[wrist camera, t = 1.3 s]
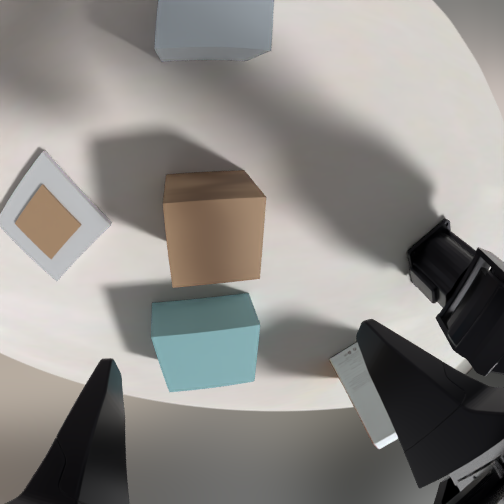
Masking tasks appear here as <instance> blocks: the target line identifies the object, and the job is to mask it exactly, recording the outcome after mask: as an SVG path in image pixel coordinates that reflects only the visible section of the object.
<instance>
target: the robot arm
mask: <svg viewBox="0 0 504 504" xmlns="http://www.w3.org/2000/svg"><path fill="white" fill-rule="evenodd" d="M408 259H409V263H410V273H411V278H412V282H413V283H414V285H415V286H416V287H418V288H419V290H420V291H421V292H422V293H423V294H424V295H425V296H426V297H427V298H428V299H429V300H430V301H431V302H432V303H436V302H438V303H439V304H440V305H441V306H442V307H443V309H442V310H441V312H440V313H439V314H438V315H437V316H436V320H437V321H438V323H439V325H440V327H441V329H442V331H443V332H444V334H445V336H446V338H447V340H448V341H449V343H450V345H451V347H452V349H453V350H454V351H455V352H456V353H458V354H459V355H461V356H462V357H464V358H466V359H467V360H468V361H469V363H470V364H471V365H472V367H473V368H474V370H475V371H476V372H477V373H478V374H481V375H483V376H486V375H487V374H488V373H489V372H492V373H498V374H502V375H504V262H503V261H502V260H500V259H499V258H498V257H497V256H495V255H494V254H493V253H491V252H489V251H486V250H484V249H481V248H479V247H478V248H477V250H476V251H475V250H474V249H473V248H472V247H470V246H469V245H468V244H467V243H465V242H464V241H463V240H461V239H460V238H459V237H458V236H456V235H455V234H454V233H452V232H451V230H450V221H449V220H447V219H444V220H443V221H442V222H441V223H440V224H439V225H438V226H436V227H435V228H434V229H433V230H432V231H431V232H429V233H428V234H427V235H426V236H425V237H424V238H422V239H421V240H420V241H419V242H418V243H416V244H415V245H414V246H413V247H412V248H410V249H409V251H408ZM490 266H491V269H490V270H488V269H489V267H490ZM356 339H357V343H358V345H359V348H360V351H361V354H362V356H363V359H364V362H365V365H366V368H367V370H368V373H369V375H370V377H371V379H372V381H373V383H374V386H375V388H376V390H377V392H378V394H379V396H380V398H381V401H382V403H383V405H384V407H385V409H386V411H387V414H388V416H389V418H390V420H391V423H392V425H393V427H394V429H395V432H396V434H397V436H398V439H399V441H400V443H401V445H402V448H403V450H404V453H405V456H406V458H407V460H408V462H409V465H410V468H411V470H412V473H413V475H414V477H415V480H416V483H417V485H418V487H419V488H422V487H424V486H426V485H428V484H430V483H432V482H435V481H437V480H439V479H440V478H442V477H444V476H446V475H448V474H449V476H448V477H447V478H446V479H444V480H443V481H442V482H440V484H439V488H438V492H437V495H436V498H435V501H434V504H504V387H491V386H488V385H485V384H483V383H481V382H479V381H477V380H475V379H473V378H471V377H469V376H467V375H465V374H463V373H461V372H459V371H458V370H456V369H454V368H452V367H451V366H449V365H447V364H446V363H444V362H442V361H441V360H439V359H437V358H436V357H434V356H433V355H431V354H429V353H428V352H426V351H424V350H423V349H421V348H420V347H418V346H416V345H415V344H413V343H411V342H410V341H408V340H406V339H405V338H403V337H401V336H400V335H398V334H397V333H395V332H393V331H392V330H390V329H388V328H387V327H385V326H383V325H382V324H380V323H378V322H377V321H375V320H373V319H369V320H365V321H363V322H362V323H361V326H360V328H359V330H358V333H357V336H356ZM125 447H126V446H125V412H124V402H123V391H122V378H121V373H120V371H119V369H118V367H117V365H116V363H115V361H114V360H113V359H111V358H109V359H102V360H100V362H99V364H98V365H97V367H96V368H95V370H94V372H93V373H92V375H91V377H90V378H89V380H88V381H87V383H86V385H85V387H84V388H83V390H82V392H81V393H80V395H79V397H78V398H77V400H76V402H75V404H74V406H73V407H72V409H71V411H70V413H69V414H68V416H67V418H66V420H65V421H64V423H63V425H62V427H61V429H60V431H59V432H58V434H57V438H55V440H54V442H53V444H52V446H51V447H50V449H49V451H48V453H47V455H46V457H45V458H44V460H43V461H42V463H41V465H40V466H39V468H38V469H37V471H36V472H35V474H34V475H33V477H32V479H31V480H30V482H29V483H28V485H27V486H26V488H25V489H24V491H23V492H22V493H21V494H20V495H19V496H18V497H16V498H15V499H13V500H11V501H9V502H7V503H5V504H129V493H128V483H127V468H126V448H125Z"/></svg>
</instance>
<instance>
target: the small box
mask: <svg viewBox="0 0 504 504" xmlns="http://www.w3.org/2000/svg"><path fill="white" fill-rule="evenodd" d="M329 360H330V362H331V364H332V366H333V368H334V370H335V372H336V374H337V376H338V377H339V379H340V381H341V383H342V385H343V386H344V388H345V390H346V392H347V394H348V396H349V398H350V400H351V402H352V404H353V406H354V408H355V409H356V411H357V413H358V415H359V417H360V419H361V421H362V423H363V425H364V427H365V429H366V431H367V433H368V435H369V437H370V439H371V441H372V443H373V444H374V445H375V446H376V447H377V448H378V449H380V448H382V447H384V446H386V445H387V444H389V443H391V442H392V441H394V440H396V439H397V438H398V436H397V434H396V432H395V429H394V427H393V425H392V423H391V420H390V418H389V416H388V414H387V411H386V409H385V407H384V405H383V403H382V401H381V398H380V396H379V394H378V392H377V390H376V388H375V386H374V383H373V381H372V379H371V377H370V375H369V373H368V370H367V368H366V365H365V362H364V359H363V356H362V354H361V351H360V348H359V345H358V343H357V342H356V343H355V344H353V345H352V346H350V347H348V348H347V349H345V350H343V351H342V352H340V353H339V354H337V355H335V356H334V357H332V358H330V359H329Z"/></svg>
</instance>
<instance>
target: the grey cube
mask: <svg viewBox="0 0 504 504" xmlns="http://www.w3.org/2000/svg"><path fill="white" fill-rule="evenodd" d="M273 9H274V0H158V9H157V19H156V33H155V51H156V53H157V55H158V56H159V58H160V60H161V62H166V61H183V60H236V61H247V60H250V59H252V58H254V57H257V56H259V55H261V54H264V53H266V52H269V51H271V45H272V27H273Z"/></svg>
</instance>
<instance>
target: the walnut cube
mask: <svg viewBox="0 0 504 504" xmlns="http://www.w3.org/2000/svg"><path fill="white" fill-rule="evenodd" d="M265 206H266V196H265V195H264V194H263V193H262V191H261V190H260V189H259V188H258V186H257V185H256V184H255V183H254V182H253V180H252V179H251V178H250V177H249V175H248V174H247V173H246V172H245V171H244V170H239V171H212V172H194V173H179V174H167V175H166V180H165V189H164V198H163V211H164V221H165V231H166V240H167V249H168V257H169V264H170V272H171V279H172V286H173V288H176V287H186V286H197V285H207V284H216V283H226V282H235V281H244V280H253V279H260V270H261V257H262V245H263V232H264V219H265Z"/></svg>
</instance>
